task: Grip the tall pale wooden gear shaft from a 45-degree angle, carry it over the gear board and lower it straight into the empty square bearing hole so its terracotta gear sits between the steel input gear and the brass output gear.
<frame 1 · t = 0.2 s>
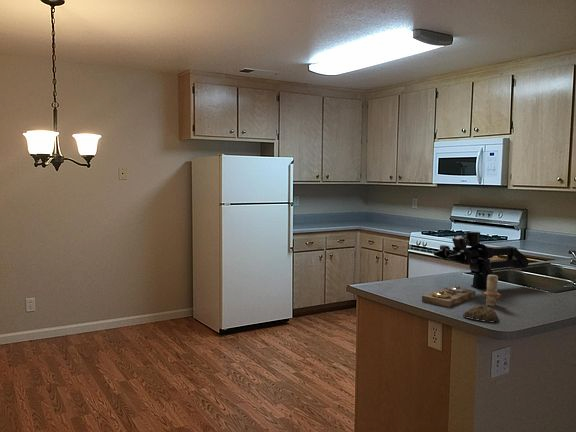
hand: (440, 255, 231), 17 cm above the counter, tool horizontal, fingers open, 9 cm apart
gear board: (449, 298, 219), on the counter
input gear: (457, 288, 224), point 4 cm above the counter, hinge at 0.0°
output gear: (441, 293, 213), point 4 cm above the counter, hinge at 0.0°
bread roll: (480, 318, 192), on the counter
idler gear: (490, 304, 210), on the counter
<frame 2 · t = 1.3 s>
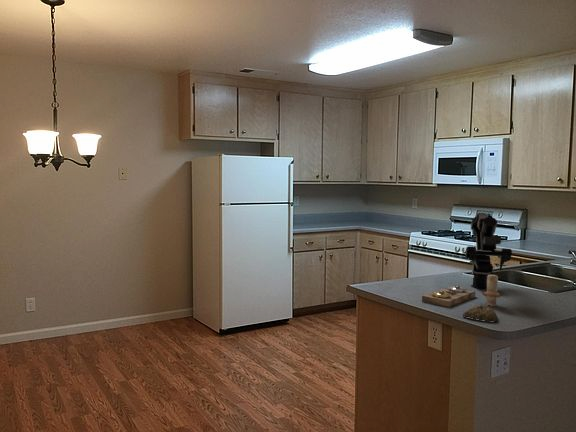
hand: (489, 269, 217), 14 cm above the counter, tool tilted 45°, fingers open, 9 cm apart
nothing on the counter moved.
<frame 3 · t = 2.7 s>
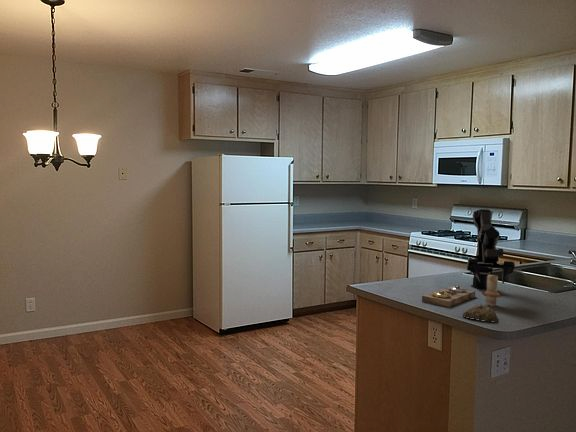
hand: (491, 282, 211), 9 cm above the counter, tool tilted 45°, fingers open, 9 cm apart
nothing on the counter moved.
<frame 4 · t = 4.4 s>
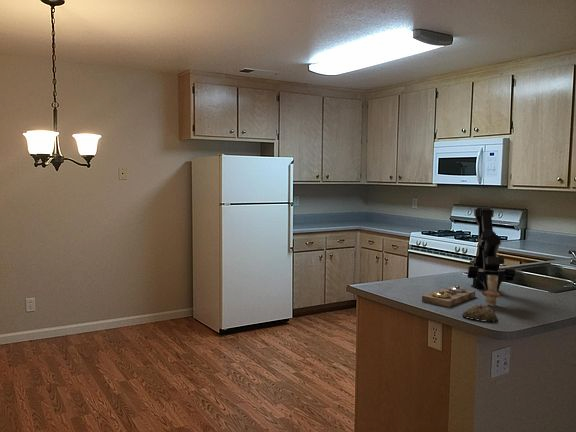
hand: (492, 290, 208), 7 cm above the counter, tool tilted 45°, fingers closed on idler gear, 4 cm apart
idler gear: (490, 304, 210), on the counter, touching gripper
everything else where it was.
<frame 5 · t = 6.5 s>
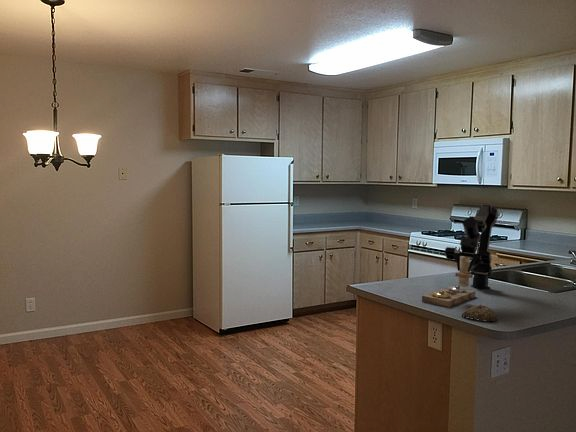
hand: (463, 271, 213), 13 cm above the counter, tool tilted 45°, fingers closed on idler gear, 4 cm apart
idler gear: (463, 285, 214), point 7 cm above the counter, touching gripper
everything else where it was.
when the fingers open (7 cm above the counter, at t = 8.7 s): idler gear stays where it is, resting in gear board.
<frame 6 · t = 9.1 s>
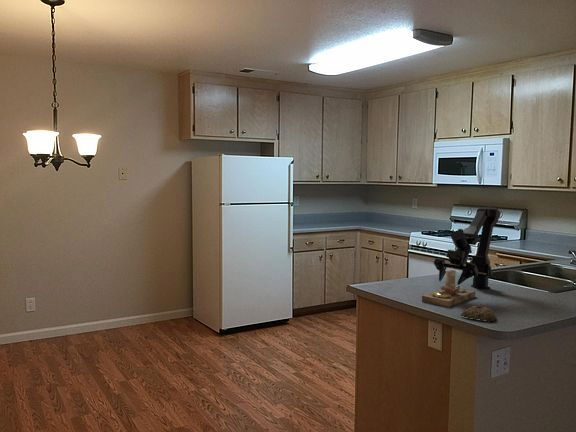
hand: (448, 282, 217), 8 cm above the counter, tool tilted 45°, fingers open, 8 cm apart
idler gear: (449, 299, 219), resting in gear board
everything else where it was.
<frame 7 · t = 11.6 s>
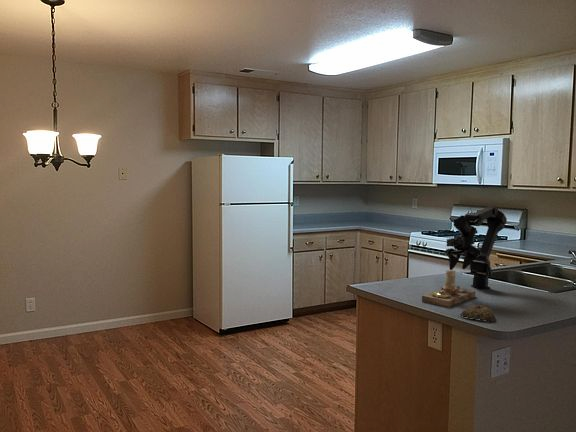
hand: (456, 269, 225), 12 cm above the counter, tool tilted 30°, fingers open, 9 cm apart
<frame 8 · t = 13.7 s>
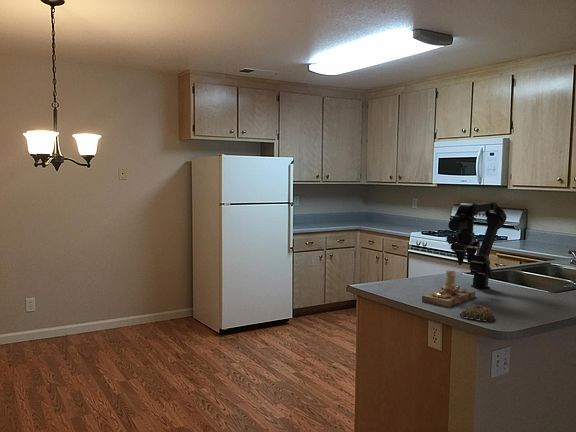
hand: (464, 263, 232), 13 cm above the counter, tool pointing down, fingers open, 9 cm apart
at the end: idler gear 0.0 cm off-centre on the gear board, point 0.0 cm above the gear board's base; idler gear tilted 0°; the gripper is holding nothing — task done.
